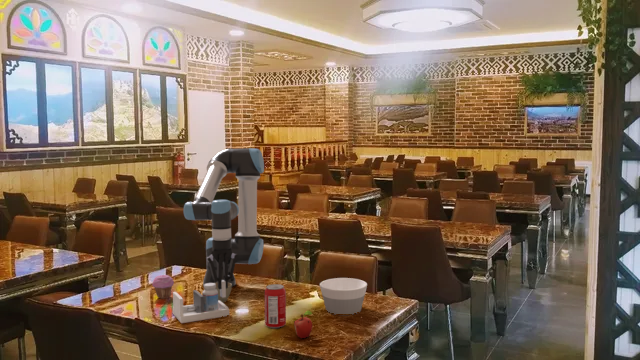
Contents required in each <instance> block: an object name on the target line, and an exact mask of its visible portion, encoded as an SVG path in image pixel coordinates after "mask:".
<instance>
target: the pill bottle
mask: <svg viewBox="0 0 640 360" xmlns="http://www.w3.org/2000/svg"><path fill="white" fill-rule="evenodd" d="M215 288H216V284H215V283H206V284H204V286H203V289H204V290H202V293H201V295H203V296H204V312H209V311H215V310H218V291H217V290H216V289H215Z"/></svg>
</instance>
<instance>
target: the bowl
mask: <svg viewBox="0 0 640 360" xmlns="http://www.w3.org/2000/svg"><path fill="white" fill-rule="evenodd" d="M367 286H368V283H367V282H366V281H364V280H361V279H359V278H352V277H351V278H350V277H349V278H348V277H337V278H336V277H334V278H328V279H326V280H323V281H321V282H319V288H320V291H321V296H322V298H323V304H324V307H325V310H327V311H328V313H329V312H330V313H329V314H331V313H334V314H333V315H336V314H352V315H355V314H354V313H356V314H358V313H357V312H359V313H360V312H361V311H362V307H363V303H364V299H365V296H366V291H367V288H368V287H367ZM327 311H326V312H327Z"/></svg>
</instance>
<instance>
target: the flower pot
mask: <svg viewBox="0 0 640 360" xmlns="http://www.w3.org/2000/svg"><path fill="white" fill-rule="evenodd" d="M215 284H216V288H215V289H216V290H217V291H218V300H220V301H221V302H222V303H226V302H227V300H228V299H229V296H230V294H231V291H232V287H233V286H232V284H231V283H228V288H226V297H224V298H222V297H221V296H220V289H218V282H217V283H215Z"/></svg>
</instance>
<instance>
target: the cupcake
mask: <svg viewBox="0 0 640 360" xmlns="http://www.w3.org/2000/svg"><path fill="white" fill-rule="evenodd" d="M174 284H175V283H174V279H173V277H171V276H170V275H167V274H160V275H156V276H155V278H154V279H153V281H152V287H153V288H154V291H155V294H156V296H157V298H159V299H167V298H170V297H171V295H172V289H173V286H174Z"/></svg>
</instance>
